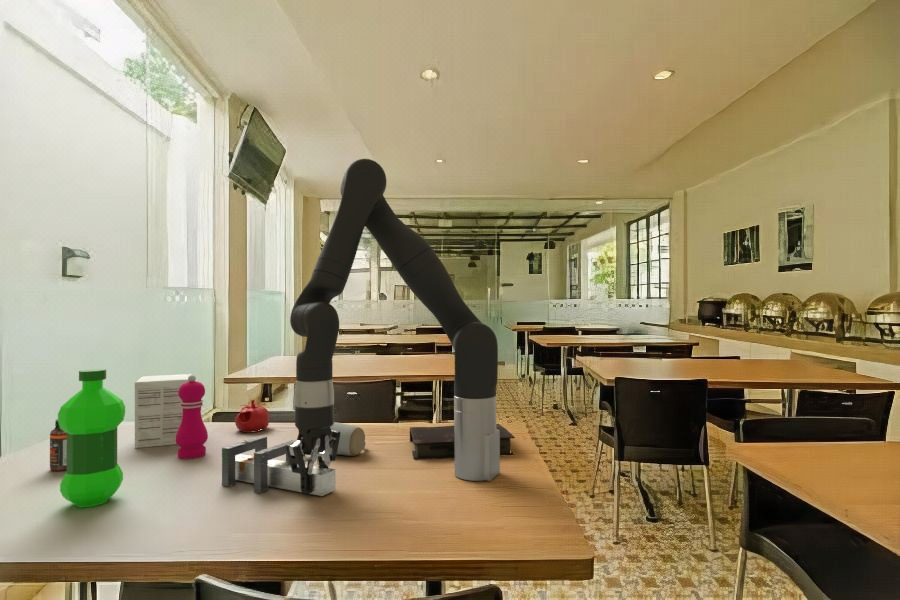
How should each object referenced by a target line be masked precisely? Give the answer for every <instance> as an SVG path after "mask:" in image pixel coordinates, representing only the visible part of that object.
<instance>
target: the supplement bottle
mask: <svg viewBox="0 0 900 600" xmlns="http://www.w3.org/2000/svg"><path fill="white" fill-rule="evenodd" d="M54 423H55V424H54V426H55V427H54V428H52V429H51V431H50V433H49V469H50V470H51V471H53V472H64V471H67V433H66V432H64V431H63V430H62V429H60V427H59V423H58V418H57V419H55V422H54ZM63 470H64V471H63Z"/></svg>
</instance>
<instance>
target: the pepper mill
mask: <svg viewBox="0 0 900 600" xmlns="http://www.w3.org/2000/svg"><path fill="white" fill-rule="evenodd" d="M196 379H197V376H196V375H194V374H193V375H190V376H189V377H188V381H189V382H186V383H184V384H182V385H181V386H180V388H179V391H178V395H179V397H180V398H181V399H182V402H181V408H182V409H183V416H182V421H181V424H180V427H179V429H178V431H177V434H176V444H175V445H177V446H178V447H179V448H178V449H177V458H179V459H182V460H191V458H192V459H196V458H201V457H203V456H206V454H207V453H206V452H207V449H206V447H207V446H205V445H204V444H205V443H206V442H207V441H208V438H209V434H208V429H207V427H206V425H205V423H204V421H203V417H202V407H203V406H204V404H203V402H204V401H203V398H204V396H205V394H206V387H205V386H204V384H203V383H201V382H200V381H196ZM200 456H201V457H200Z"/></svg>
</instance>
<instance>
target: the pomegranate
mask: <svg viewBox="0 0 900 600" xmlns="http://www.w3.org/2000/svg"><path fill="white" fill-rule="evenodd" d="M250 402H251V403H250ZM250 402H249V403H248V404H242V405H240V407H242V406H243V407H242V408H241V410H240V413H238V414H237V415H236V416H235V418H234V423H235V424H234V425H235V426H236V428H237V430H239V431H241V432H243V431H244V432H243V433H253V432H252V431H258V430H260V429H264V430H266V429H267V428H268V426H269V423H270V412H269V410H268V409H267V408H266V407H264V406H266V404H264V403H261V402H255V398H254V399H251V400H250ZM257 404H258V405H257ZM265 428H266V429H265ZM258 432H259V431H258Z"/></svg>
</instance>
